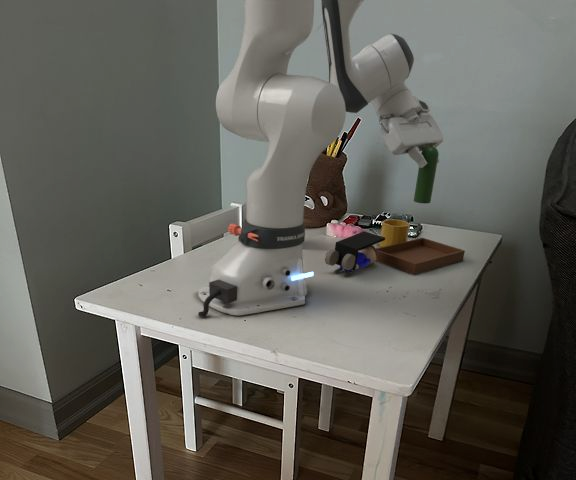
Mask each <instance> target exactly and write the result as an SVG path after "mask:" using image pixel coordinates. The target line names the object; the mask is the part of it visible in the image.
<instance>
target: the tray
mask: <svg viewBox="0 0 576 480" xmlns="http://www.w3.org/2000/svg"><path fill="white" fill-rule="evenodd" d="M375 248H376V250H377V252H378V257H377V260H376V261H375V262H378V263H381V264H383V265H386V266H389V267H391V268H394V269H397V270H399V271H401V272H405V273H408V274H410V275H413V276H414V275H415V276H416V275H418V274H422V273H425V272H429V271H433V270H435V269H439V268H443V267H446V266H450V265H453V264H457V263H460V262H464V257H465V252H466V250H465V249H461V248H457V247H455V246H451V245H448V244H444V243H441V242H439V241H435V240H432V239H428V238H425V237H419V238H414V239H410V240H407V241H406V242H401V243H397V244H393V245H388V246H384V247H381V246H379V247H375Z"/></svg>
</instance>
